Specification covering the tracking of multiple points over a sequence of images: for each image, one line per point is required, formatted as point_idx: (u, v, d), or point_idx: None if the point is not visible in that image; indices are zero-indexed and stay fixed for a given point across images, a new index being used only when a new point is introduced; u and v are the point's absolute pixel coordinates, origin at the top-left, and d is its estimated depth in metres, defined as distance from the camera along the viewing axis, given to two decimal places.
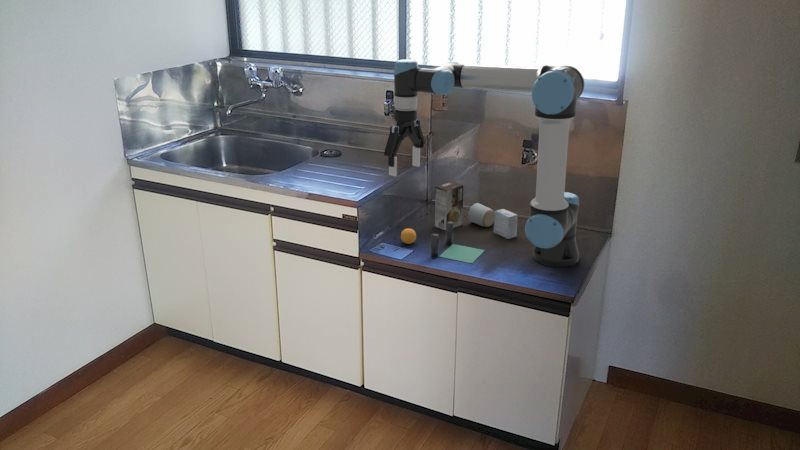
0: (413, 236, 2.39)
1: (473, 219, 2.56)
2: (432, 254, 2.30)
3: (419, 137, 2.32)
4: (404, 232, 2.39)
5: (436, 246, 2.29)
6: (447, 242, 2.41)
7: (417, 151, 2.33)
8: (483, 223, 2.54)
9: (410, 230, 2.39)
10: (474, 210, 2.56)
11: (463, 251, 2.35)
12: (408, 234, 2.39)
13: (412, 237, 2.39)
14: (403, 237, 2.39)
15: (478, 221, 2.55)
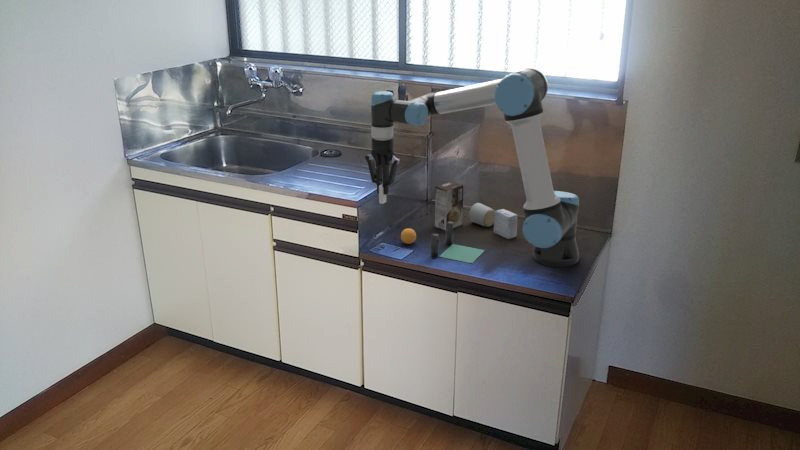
0: (413, 236, 2.39)
1: (474, 219, 2.57)
2: (432, 254, 2.30)
3: None
4: (404, 232, 2.39)
5: (436, 246, 2.29)
6: (447, 242, 2.41)
7: None
8: (484, 223, 2.54)
9: (410, 230, 2.39)
10: (475, 210, 2.56)
11: (463, 251, 2.35)
12: (408, 234, 2.39)
13: (412, 237, 2.39)
14: (403, 237, 2.39)
15: (479, 221, 2.55)
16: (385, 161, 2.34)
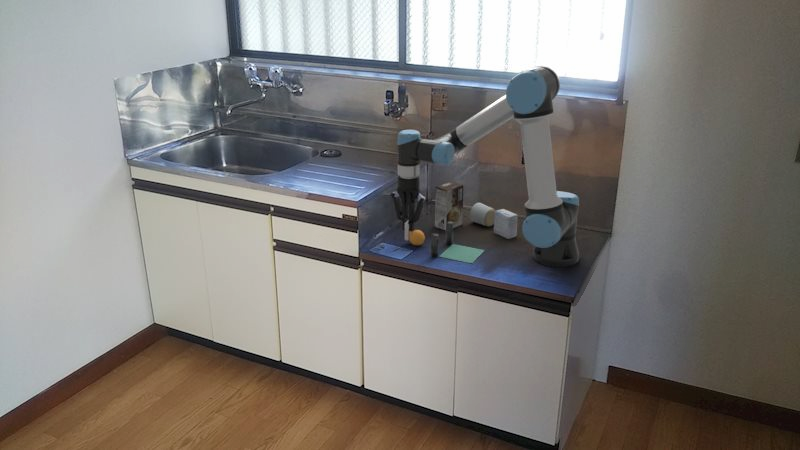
0: (421, 242, 2.38)
1: (475, 218, 2.57)
2: (432, 254, 2.30)
3: None
4: (416, 234, 2.37)
5: (436, 246, 2.29)
6: (447, 242, 2.41)
7: None
8: (485, 222, 2.54)
9: (422, 235, 2.38)
10: (476, 209, 2.56)
11: (463, 251, 2.35)
12: (418, 239, 2.37)
13: (420, 242, 2.38)
14: (412, 238, 2.37)
15: (480, 220, 2.55)
16: (411, 199, 2.34)
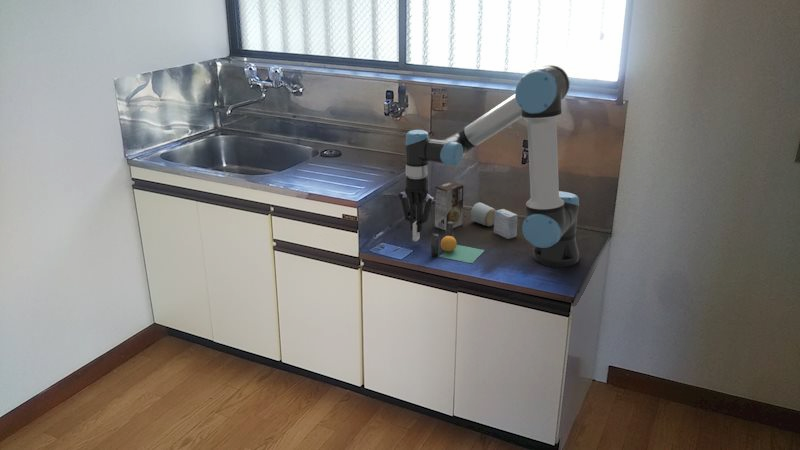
0: (447, 238, 2.33)
1: (475, 218, 2.57)
2: (432, 254, 2.30)
3: None
4: (441, 245, 2.34)
5: (436, 246, 2.29)
6: None
7: None
8: (485, 222, 2.54)
9: None
10: (476, 209, 2.57)
11: (463, 251, 2.35)
12: (443, 241, 2.33)
13: (447, 239, 2.32)
14: (444, 247, 2.33)
15: (480, 220, 2.56)
16: (419, 199, 2.32)
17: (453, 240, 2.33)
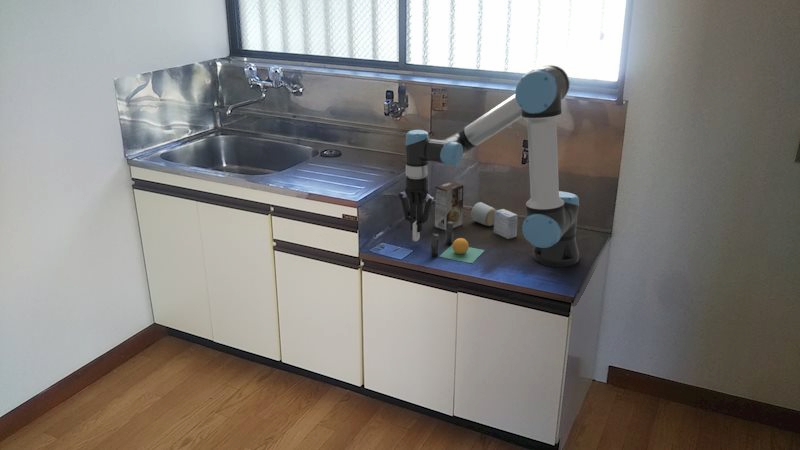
0: (466, 248, 2.31)
1: (476, 218, 2.57)
2: (432, 254, 2.30)
3: None
4: (458, 242, 2.31)
5: (436, 246, 2.29)
6: (447, 242, 2.41)
7: None
8: (486, 222, 2.55)
9: (464, 241, 2.31)
10: (477, 209, 2.57)
11: None
12: (462, 245, 2.30)
13: (465, 249, 2.31)
14: (456, 247, 2.31)
15: (481, 220, 2.56)
16: (419, 199, 2.32)
17: (464, 252, 2.32)
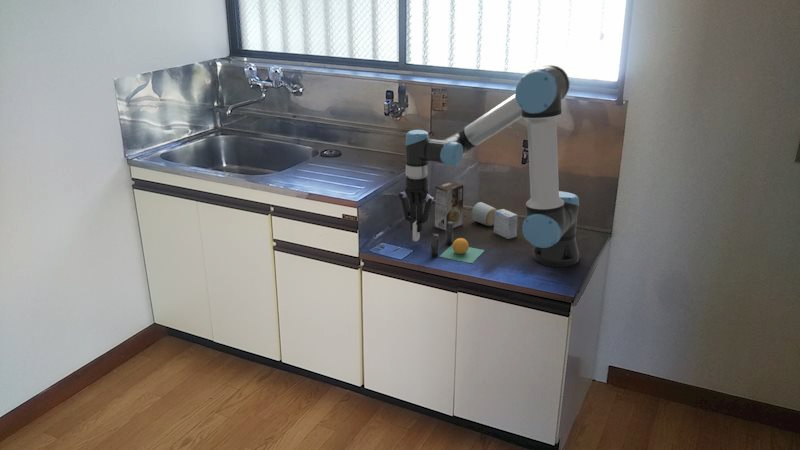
0: (466, 248, 2.31)
1: (476, 218, 2.58)
2: (432, 254, 2.30)
3: None
4: (458, 242, 2.31)
5: (436, 246, 2.29)
6: (447, 242, 2.41)
7: None
8: (486, 222, 2.55)
9: (464, 241, 2.31)
10: (477, 209, 2.57)
11: None
12: (462, 245, 2.30)
13: (465, 249, 2.31)
14: (456, 247, 2.31)
15: (481, 220, 2.56)
16: (419, 199, 2.32)
17: (464, 252, 2.32)
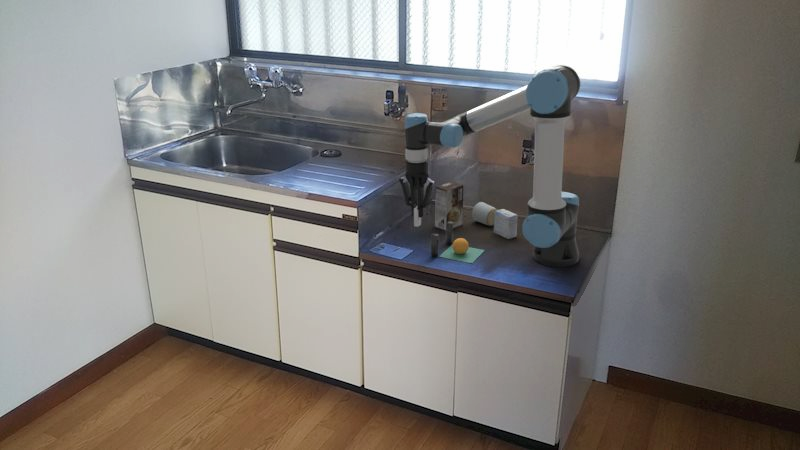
0: (466, 248, 2.31)
1: (477, 218, 2.58)
2: (432, 254, 2.30)
3: None
4: (458, 242, 2.31)
5: (436, 246, 2.29)
6: (447, 242, 2.41)
7: None
8: (487, 222, 2.55)
9: (464, 241, 2.31)
10: (478, 209, 2.57)
11: None
12: (462, 245, 2.30)
13: (465, 249, 2.31)
14: (456, 247, 2.31)
15: (482, 220, 2.56)
16: (420, 184, 2.30)
17: (464, 252, 2.32)
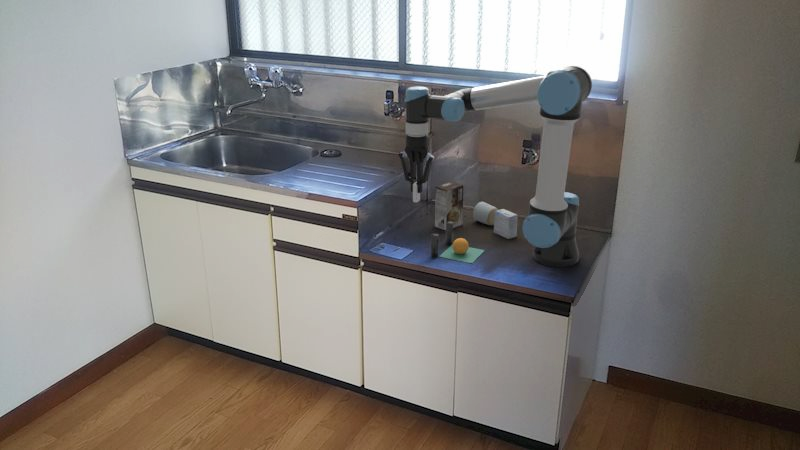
0: (466, 248, 2.31)
1: (478, 217, 2.58)
2: (432, 254, 2.30)
3: None
4: (458, 242, 2.31)
5: (436, 246, 2.29)
6: (447, 242, 2.41)
7: None
8: (488, 221, 2.55)
9: (464, 241, 2.31)
10: (479, 208, 2.57)
11: None
12: (462, 245, 2.30)
13: (465, 249, 2.31)
14: (456, 247, 2.31)
15: (483, 219, 2.56)
16: (420, 158, 2.27)
17: (464, 252, 2.32)
